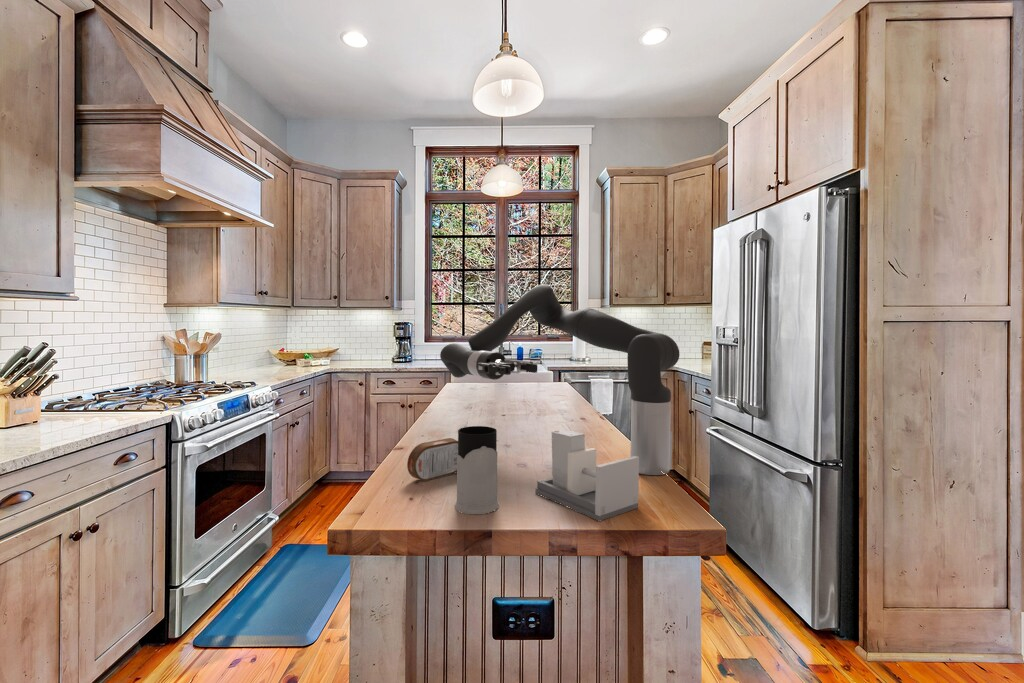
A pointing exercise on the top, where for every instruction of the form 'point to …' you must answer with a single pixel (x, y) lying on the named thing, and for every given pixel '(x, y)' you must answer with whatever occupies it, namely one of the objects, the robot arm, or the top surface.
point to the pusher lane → (601, 490)
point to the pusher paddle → (581, 471)
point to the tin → (433, 459)
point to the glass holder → (477, 470)
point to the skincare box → (564, 454)
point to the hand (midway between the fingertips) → (523, 369)
